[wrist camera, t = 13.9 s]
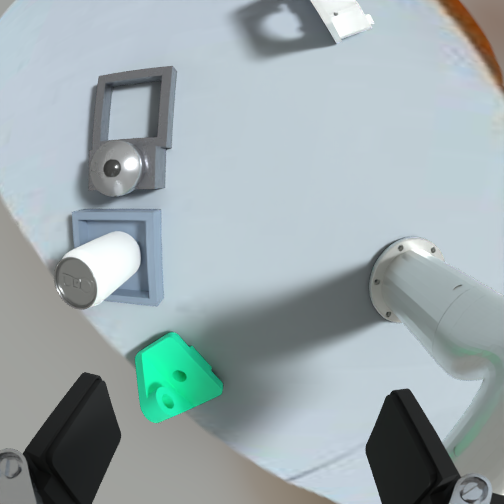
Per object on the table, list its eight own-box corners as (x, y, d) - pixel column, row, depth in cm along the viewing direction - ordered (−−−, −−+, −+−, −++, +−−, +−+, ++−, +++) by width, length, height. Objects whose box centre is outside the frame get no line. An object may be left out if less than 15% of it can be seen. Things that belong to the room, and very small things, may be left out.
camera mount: (226, 382, 44) (219, 428, 34) (190, 399, 45) (177, 444, 35) (175, 326, 42) (154, 366, 32) (140, 348, 43) (115, 388, 33)
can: (140, 281, 39) (101, 320, 27) (100, 271, 39) (52, 304, 27) (144, 234, 38) (101, 259, 26) (102, 226, 37) (50, 247, 26)
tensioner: (177, 71, 33) (162, 54, 27) (170, 192, 37) (153, 196, 31) (106, 80, 33) (83, 67, 27) (99, 193, 37) (74, 198, 31)
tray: (161, 209, 37) (153, 212, 34) (163, 297, 40) (157, 306, 37) (83, 209, 37) (71, 212, 34) (90, 290, 40) (80, 297, 37)
